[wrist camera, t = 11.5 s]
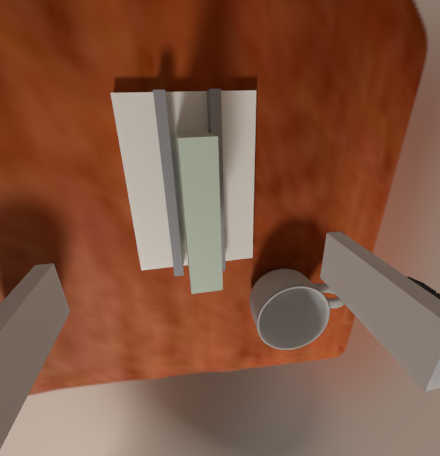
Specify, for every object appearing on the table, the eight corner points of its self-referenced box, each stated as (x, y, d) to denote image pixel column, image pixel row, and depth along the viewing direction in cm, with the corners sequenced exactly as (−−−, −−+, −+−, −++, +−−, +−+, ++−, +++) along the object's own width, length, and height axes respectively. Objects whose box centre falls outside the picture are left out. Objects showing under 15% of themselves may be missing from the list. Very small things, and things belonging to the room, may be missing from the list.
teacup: (244, 318, 45) (258, 356, 37) (242, 264, 40) (257, 296, 33) (319, 304, 47) (347, 339, 39) (325, 251, 42) (357, 279, 35)
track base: (113, 94, 29) (104, 90, 25) (252, 91, 31) (263, 87, 28) (142, 264, 37) (139, 280, 34) (249, 252, 40) (257, 266, 36)
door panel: (175, 130, 30) (177, 137, 19) (201, 129, 30) (218, 136, 20) (185, 239, 35) (191, 293, 25) (207, 237, 36) (222, 289, 25)
